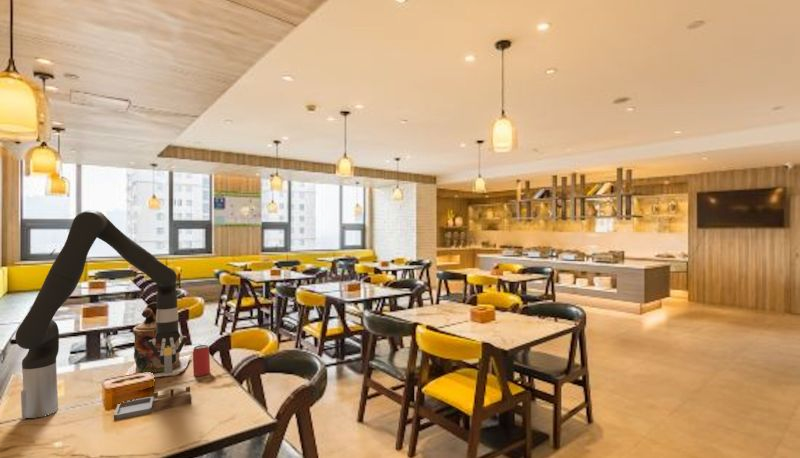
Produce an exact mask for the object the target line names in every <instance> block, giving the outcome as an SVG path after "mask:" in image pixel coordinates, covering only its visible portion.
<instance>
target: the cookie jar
mask: <svg viewBox="0 0 800 458" xmlns="http://www.w3.org/2000/svg"><path fill="white" fill-rule="evenodd" d="M156 312H157V301H155V302H151V303H149V304H148V305H146V307H145V308H144V310H143V311H142V312H141V316H142V317H143V318H145V319H144V321H142V322H141V323H139V324H137V325H135V326H134V327H133V328H132V332H133V334H134V347H133V349H134V350H133V351H134V352H133V359H134V363H133V364H132V366H131V367H130V368H129V369H128V370H127V371H126V373H125V374H124V376H125V375H129V374H133V373H143V372H151V373H153V375H154V376H155V377H154V378H160V377H161V378H162V377H169V376H177V375H179V374H181V373H182V372H184V371H185V370H186V368H187V367H188V363H189V362H190V359H191V358H192V354H190V355H185V356H180V353H181V351H180V352H177V353H176V362H174V364H172V373H169V374H165V371H164V365H163V364H161V363H160V355H155V354H154V352H153V350H152V349H151V347H150V346H149V344H148V342H149V340H152V339H154V338H155V337H156V334H157V332H156ZM155 342H156V343H155V346H156V348H157V349H158V351H161V345H160V344H159V343H158V342H157V341H155ZM179 345H180V343H179V339H178V340H177V341H176V343H175V349H177V348H178V347H179Z"/></svg>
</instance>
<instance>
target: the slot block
mask: <svg viewBox="0 0 800 458" xmlns="http://www.w3.org/2000/svg"><path fill="white" fill-rule="evenodd" d="M182 387H183V386H180V387H179V388H182ZM184 387H186V394H182V395H177V396H174V393H173V392H174V389H177V388H178V387H176V388H169V389H164V390H163V389H162V391H166V390H171V397H166V398H160V399H158V392H160V391H161V390H159V391H154V392H153V398H154V400H153V407H152V412H155V411H159V410H164V409H169V408H176V407H179V406H180V407H181V406H185V405H191V404H192V401H191V400H192V398H191V385H186V386H184Z"/></svg>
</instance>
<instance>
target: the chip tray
mask: <svg viewBox="0 0 800 458" xmlns="http://www.w3.org/2000/svg"><path fill="white" fill-rule="evenodd" d="M131 400H132V401H130V400H126V401H127V402H124V401H122V402H123V406H122V407H121V403H120V404H118V403H117V405H116V408H115V410H114V414H113V420H114V421H117V420H121V419H126V418H131V417H137V416H141V415H142V416H143V415H146V414H147V415H148V414H152V412H153V400H154V395H152V396H147V397H142V398H136V400H135V399H131ZM124 405H127V406H124Z"/></svg>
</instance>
